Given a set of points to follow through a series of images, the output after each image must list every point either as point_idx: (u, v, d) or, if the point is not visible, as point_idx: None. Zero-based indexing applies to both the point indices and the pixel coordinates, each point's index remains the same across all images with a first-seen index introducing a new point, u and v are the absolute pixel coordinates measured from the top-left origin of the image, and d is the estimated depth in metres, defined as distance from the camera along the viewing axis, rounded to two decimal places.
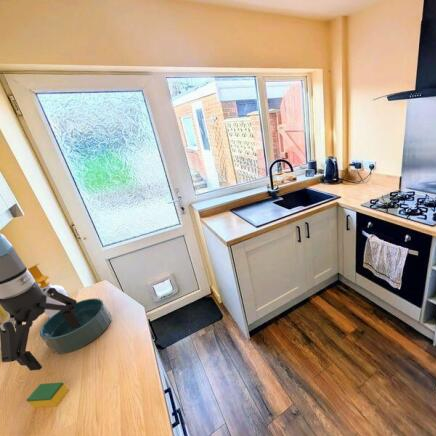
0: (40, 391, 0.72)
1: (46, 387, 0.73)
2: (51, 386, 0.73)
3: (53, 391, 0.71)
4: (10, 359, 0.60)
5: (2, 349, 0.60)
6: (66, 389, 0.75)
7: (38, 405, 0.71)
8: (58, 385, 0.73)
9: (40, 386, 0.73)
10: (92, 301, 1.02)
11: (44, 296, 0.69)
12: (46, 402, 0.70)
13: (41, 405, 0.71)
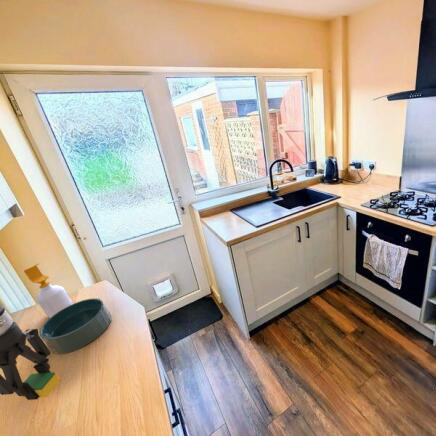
0: (31, 381, 0.70)
1: (37, 377, 0.71)
2: (42, 376, 0.71)
3: (44, 381, 0.69)
4: (9, 393, 0.63)
5: None
6: (58, 379, 0.73)
7: None
8: (49, 375, 0.71)
9: (30, 376, 0.71)
10: (92, 301, 1.02)
11: (24, 335, 0.67)
12: (37, 392, 0.69)
13: None
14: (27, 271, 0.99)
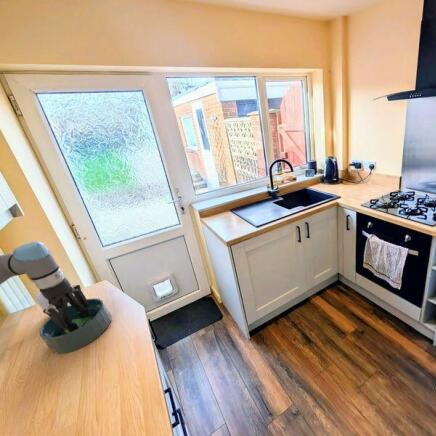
0: None
1: (77, 321, 0.95)
2: (81, 320, 0.95)
3: (82, 322, 0.94)
4: (64, 327, 0.87)
5: (55, 323, 0.86)
6: None
7: None
8: (86, 319, 0.95)
9: (72, 320, 0.96)
10: (92, 301, 1.02)
11: (71, 288, 0.92)
12: None
13: None
14: None
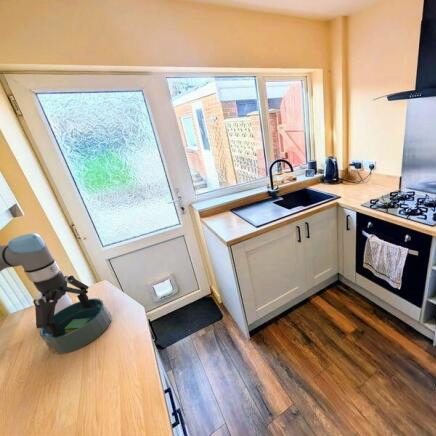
0: (74, 323, 0.95)
1: (78, 321, 0.95)
2: (82, 320, 0.96)
3: (84, 323, 0.94)
4: (42, 326, 0.81)
5: (37, 319, 0.82)
6: None
7: None
8: (87, 319, 0.96)
9: (73, 320, 0.96)
10: (92, 301, 1.02)
11: (65, 281, 0.91)
12: None
13: None
14: None
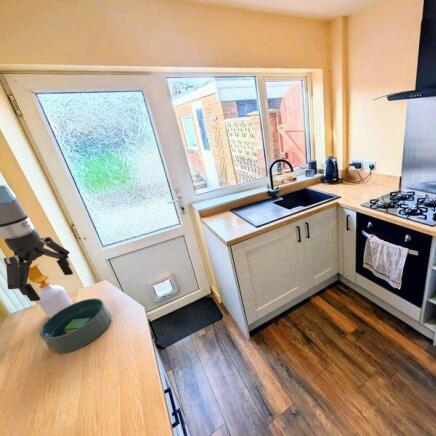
0: (74, 323, 0.95)
1: (78, 321, 0.95)
2: (82, 320, 0.96)
3: (84, 323, 0.94)
4: (14, 286, 0.74)
5: (8, 278, 0.75)
6: None
7: None
8: (87, 319, 0.96)
9: (73, 320, 0.96)
10: (92, 301, 1.02)
11: (42, 242, 0.84)
12: None
13: None
14: None
